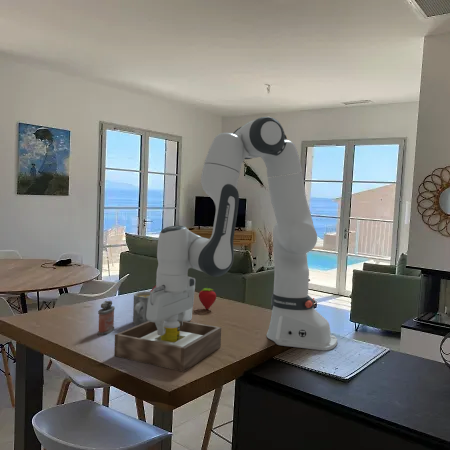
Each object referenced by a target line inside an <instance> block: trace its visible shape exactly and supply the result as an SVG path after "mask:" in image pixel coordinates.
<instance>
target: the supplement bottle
mask: <svg viewBox="0 0 450 450" xmlns="http://www.w3.org/2000/svg"><path fill="white" fill-rule="evenodd" d="M177 319H178V314H177V315H175V316H172V317H170V318H168V319H165V320H164V324H163V326H164V328H166V331H165V332H166V333H165V334H164V335H162V336H161V340H163V341H168V342H173V343H174V342H176V341H178V340H179V336H180V323H179V322H178V321H177Z"/></svg>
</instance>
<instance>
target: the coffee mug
mask: <svg viewBox="0 0 450 450" xmlns="http://www.w3.org/2000/svg"><path fill="white" fill-rule="evenodd" d="M151 293H152V292H150V291H138V292H135V293H134V294H133V307H132V308H133V312H132V315H133V316H132V324H133V325H134V326H137V325H140V324H142V323H144V322H147V321H148V320H147V318H146V312H147V303H148V298H149V296H150V294H151Z"/></svg>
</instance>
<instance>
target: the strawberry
mask: <svg viewBox="0 0 450 450" xmlns="http://www.w3.org/2000/svg"><path fill="white" fill-rule="evenodd" d="M205 286H206V287H204V288H202V289H201V290H200V291H199V293H198V298H199V301H200V303H201V305H202V306H203V307H204V308H205V310H209V309H210V308H211V307H212V305H213V304H214V303H215V302H216V299H217V294H216V292H215V291H214V289H213V288H210V287H209V288H208V286H207V284H206V285H205Z"/></svg>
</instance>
